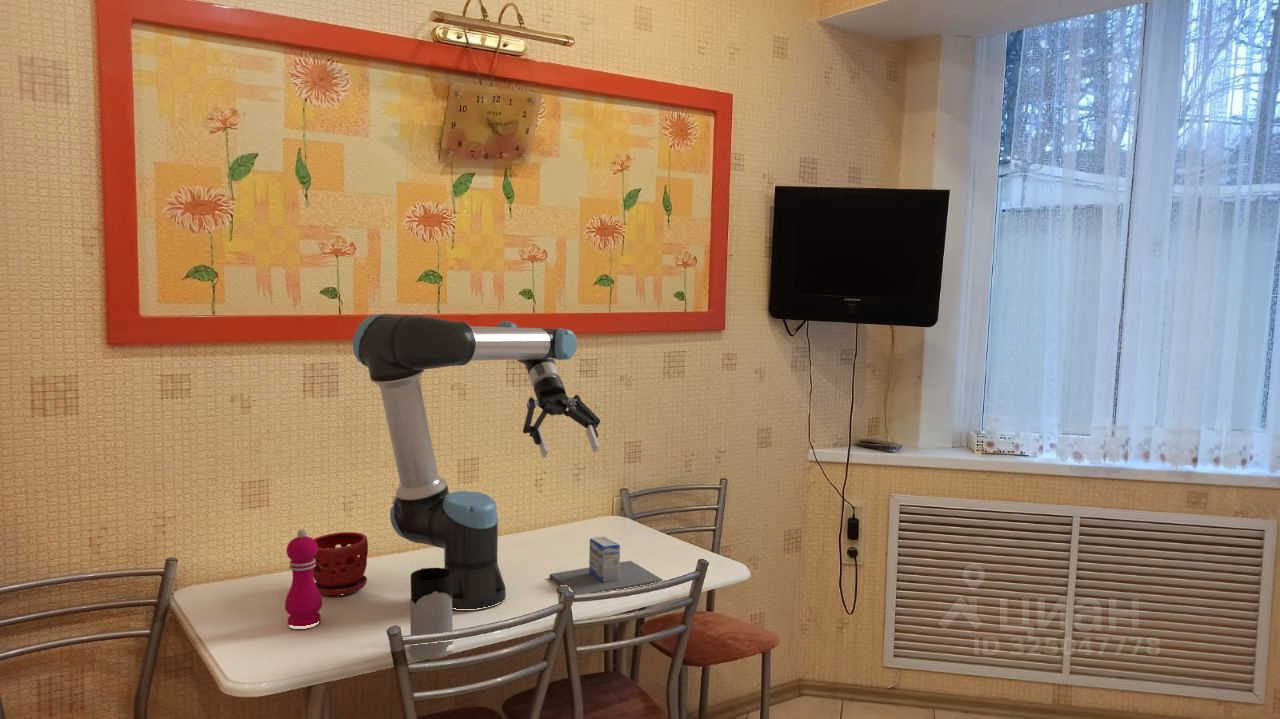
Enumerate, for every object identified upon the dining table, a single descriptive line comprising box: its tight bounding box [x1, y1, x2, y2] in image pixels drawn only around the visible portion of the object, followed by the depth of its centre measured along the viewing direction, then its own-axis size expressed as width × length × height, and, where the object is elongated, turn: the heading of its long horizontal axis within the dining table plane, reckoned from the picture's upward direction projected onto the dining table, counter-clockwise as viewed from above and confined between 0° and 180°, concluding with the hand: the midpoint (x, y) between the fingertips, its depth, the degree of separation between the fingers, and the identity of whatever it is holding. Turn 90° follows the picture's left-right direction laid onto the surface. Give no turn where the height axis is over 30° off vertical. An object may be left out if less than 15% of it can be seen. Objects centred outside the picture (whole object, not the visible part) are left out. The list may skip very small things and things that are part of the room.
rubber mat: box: [549, 560, 663, 594], centre depth 209 cm, size 22×16×1 cm
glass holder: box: [408, 567, 455, 660], centre depth 171 cm, size 9×14×15 cm, turn 24°
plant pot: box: [313, 531, 369, 596], centre depth 201 cm, size 13×13×12 cm
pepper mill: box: [284, 529, 323, 626], centre depth 180 cm, size 7×7×20 cm
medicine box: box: [588, 536, 621, 582], centre depth 208 cm, size 8×4×9 cm, turn 29°
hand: (571, 451), depth 214 cm, fingers open, 13 cm apart
